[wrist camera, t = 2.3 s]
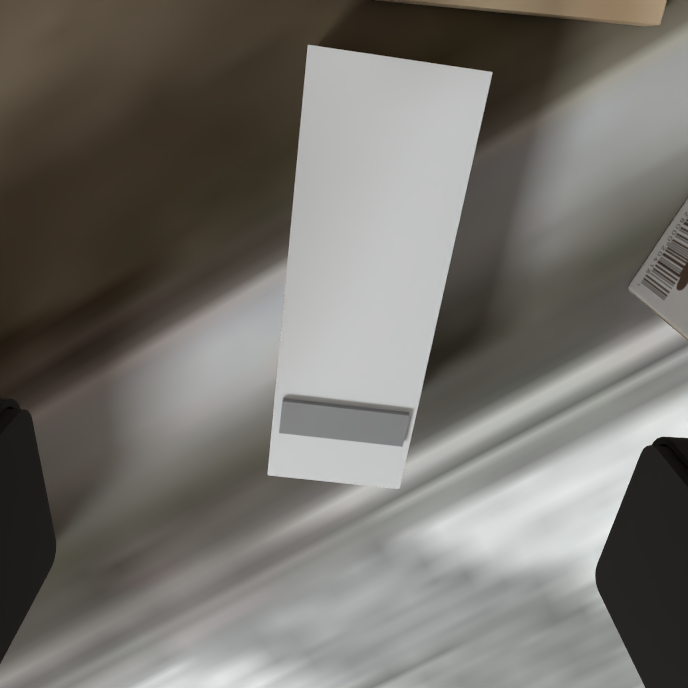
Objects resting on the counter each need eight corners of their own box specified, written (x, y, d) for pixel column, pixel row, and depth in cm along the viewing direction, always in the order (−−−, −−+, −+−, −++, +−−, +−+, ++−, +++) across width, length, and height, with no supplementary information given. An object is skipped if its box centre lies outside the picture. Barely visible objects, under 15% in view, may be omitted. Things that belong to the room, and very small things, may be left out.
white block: (457, 67, 19) (494, 72, 14) (389, 408, 24) (399, 492, 20) (316, 46, 18) (307, 44, 14) (282, 396, 24) (266, 478, 19)
